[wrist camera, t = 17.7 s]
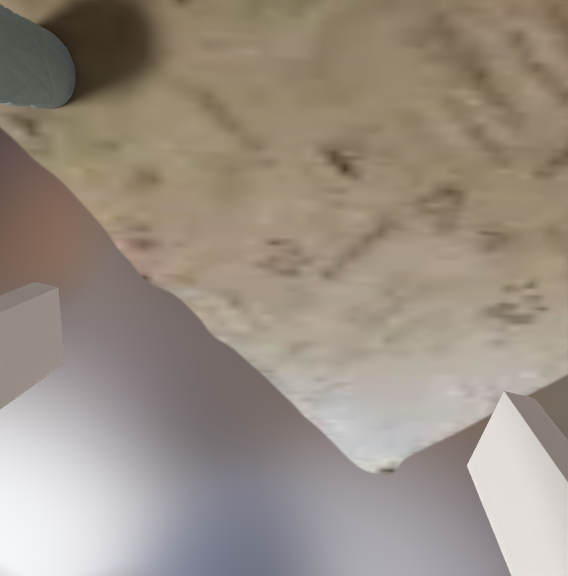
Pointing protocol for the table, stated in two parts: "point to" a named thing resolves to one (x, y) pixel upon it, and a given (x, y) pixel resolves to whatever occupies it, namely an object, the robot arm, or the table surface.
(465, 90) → the table surface
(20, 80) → the blue-grey cup
